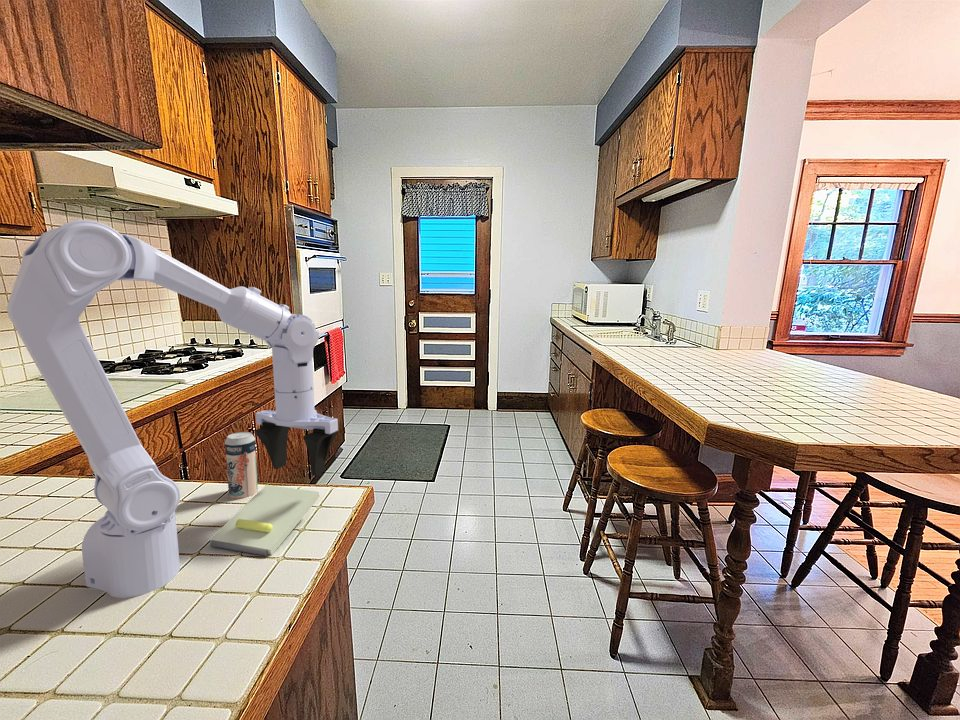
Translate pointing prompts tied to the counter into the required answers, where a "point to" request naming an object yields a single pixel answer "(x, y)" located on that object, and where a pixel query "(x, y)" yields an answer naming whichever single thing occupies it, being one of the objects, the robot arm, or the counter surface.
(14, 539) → the counter surface
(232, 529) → the plate
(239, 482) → the beer can
